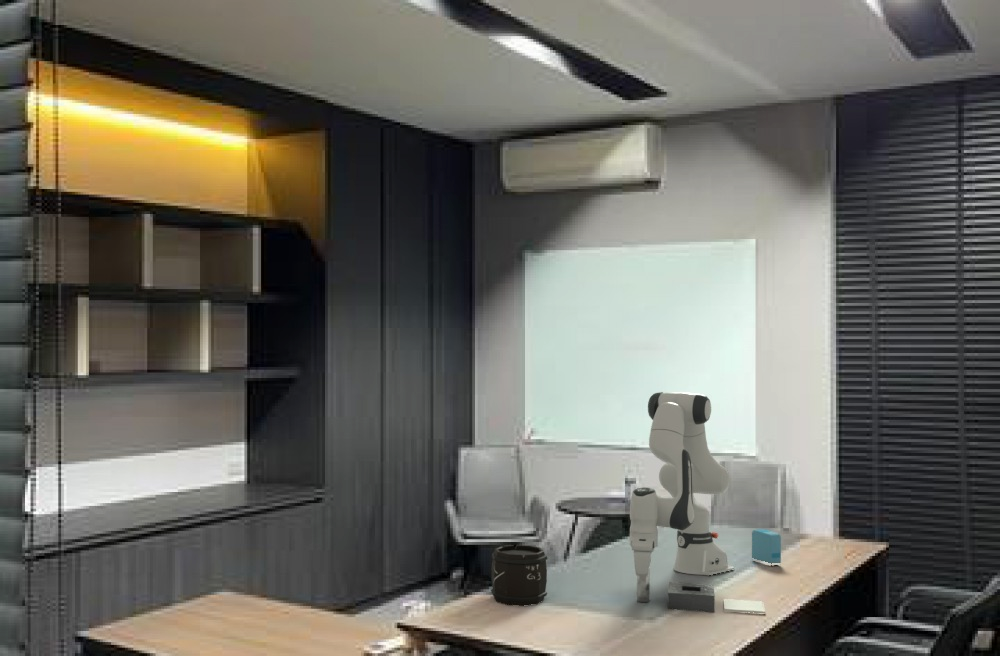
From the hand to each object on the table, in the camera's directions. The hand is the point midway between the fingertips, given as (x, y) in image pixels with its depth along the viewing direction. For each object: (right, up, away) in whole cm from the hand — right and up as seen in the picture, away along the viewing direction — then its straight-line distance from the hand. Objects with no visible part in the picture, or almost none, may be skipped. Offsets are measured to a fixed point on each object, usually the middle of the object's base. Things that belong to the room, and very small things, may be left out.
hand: (643, 583), depth 295 cm
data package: (+55, -8, +57) cm, 80 cm away
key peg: (0, -5, 0) cm, 5 cm away
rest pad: (+30, -6, -7) cm, 31 cm away
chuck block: (+15, -6, -3) cm, 16 cm away
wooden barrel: (-40, -5, +1) cm, 40 cm away
